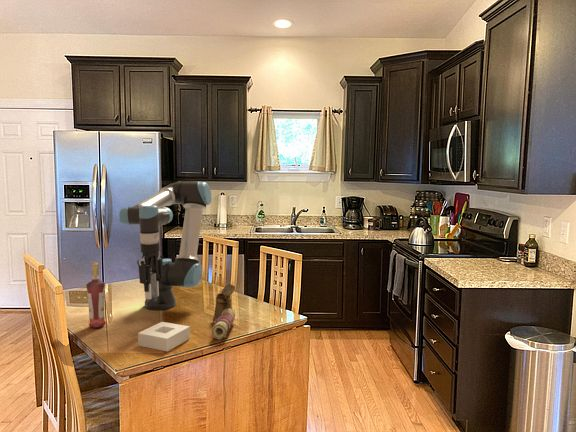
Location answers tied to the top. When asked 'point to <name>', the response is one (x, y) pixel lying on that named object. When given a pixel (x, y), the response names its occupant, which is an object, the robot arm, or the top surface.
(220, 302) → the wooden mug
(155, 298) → the peg
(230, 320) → the scroll
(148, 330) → the socket
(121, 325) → the top surface
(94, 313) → the liquor
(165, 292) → the robot arm
